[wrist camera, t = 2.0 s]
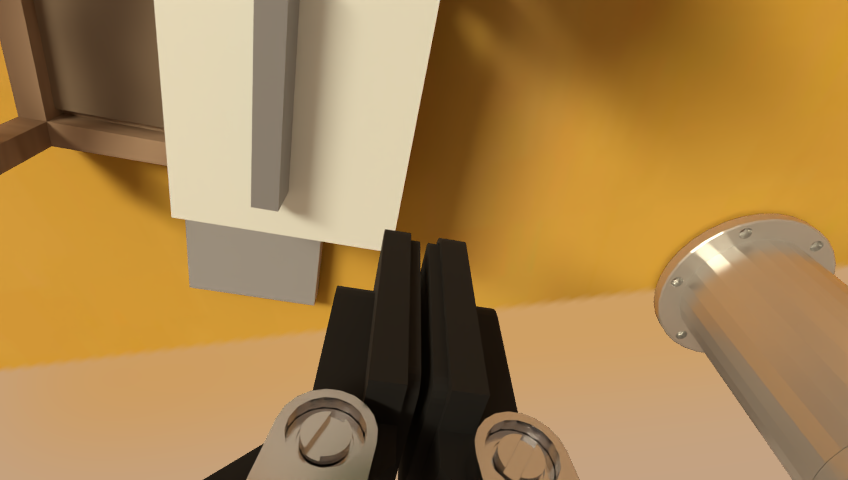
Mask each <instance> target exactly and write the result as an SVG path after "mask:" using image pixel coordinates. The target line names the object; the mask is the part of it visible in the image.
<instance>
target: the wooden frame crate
mask: <svg viewBox="0 0 848 480" xmlns="http://www.w3.org/2000/svg"><path fill="white" fill-rule="evenodd" d="M0 41H1V46H2V50H3V54H4V58H5V62H6V66H7V71H8V75H9V79H10V83H11V87H12V91H13V96H14V100H15V104H16V108H17V112H18V116H19V117H17V118H14V119H12V120H10V121H7V122H5V123H3V124H1V125H0V175H1V174H2V173H4V172H6V171H8V170H9V169H11V168H13V167H15V166H17V165H18V164H20V163H22V162H24V161H26V160H27V159H29V158H31V157H33V156H35V155H36V154H38V153H40V152H42V151H44V150H45V149H47V148H49V147H51V146H54V147H60V148H66V149H72V150H78V151H83V152H89V153H95V154H101V155H107V156H113V157H118V158H124V159H130V160H136V161H142V162H147V163H153V164H159V165H165V166H167V155H166V143H165V131H164V119H163V107H162V95H161V83H160V70H159V58H158V46H157V34H156V22H155V10H154V0H0Z"/></svg>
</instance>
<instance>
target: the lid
mask: <svg viewBox="0 0 848 480" xmlns="http://www.w3.org/2000/svg"><path fill="white" fill-rule="evenodd" d="M439 3H440V0H154V10H155V22H156V34H157V46H158V58H159V70H160V83H161V95H162V107H163V119H164V131H165V143H166V155H167V168H168V180H169V192H170V204H171V216H172V217H173V218H179V219H185V220H192V221H198V222H204V223H210V224H216V225H223V226H229V227H235V228H241V229H247V230H254V231H260V232H266V233H272V234H278V235H285V236H291V237H297V238H303V239H309V240H316V241H322V242H328V243H334V244H340V245H347V246H353V247H359V248H365V249H371V250H378V251H381V246H382V241H383V235H384V231H385V229H388V230H394V231H395V230H396V225H397V219H398V214H399V209H400V204H401V199H402V194H403V189H404V183H405V178H406V173H407V168H408V163H409V158H410V152H411V147H412V142H413V137H414V132H415V127H416V122H417V116H418V111H419V106H420V101H421V96H422V91H423V85H424V80H425V75H426V70H427V65H428V60H429V54H430V49H431V44H432V39H433V34H434V29H435V24H436V18H437V13H438V8H439Z"/></svg>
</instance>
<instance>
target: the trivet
mask: <svg viewBox="0 0 848 480" xmlns="http://www.w3.org/2000/svg"><path fill="white" fill-rule="evenodd" d="M185 222H186V237H187V252H188V267H189V283H190V287H192V288H198V289H205V290H212V291H219V292H226V293H233V294H239V295H246V296H253V297H260V298H267V299H273V300H280V301H287V302H294V303H301V304H307V305H314V304H315V301H316V297H317V294H318V286H319V276H320V267H321V257H322V248H323V242H322V241H316V240H309V239H303V238H297V237H291V236H285V235H278V234H272V233H266V232H260V231H254V230H247V229H241V228H235V227H229V226H223V225H216V224H210V223H204V222H198V221H192V220H185Z"/></svg>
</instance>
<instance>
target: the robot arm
mask: <svg viewBox="0 0 848 480" xmlns="http://www.w3.org/2000/svg"><path fill="white" fill-rule="evenodd" d="M835 266H836V262H835V255H834V251H833V249H832V247H831V245H830V243H829V241H828V240H827V239H826V238H825V237H824V235H823V234H822V233H821V232H820V231H818V230H817V229H815V228H814V227H812V226H811V225H810V224H808V223H807V222H805V221H802V220H800V219H798V218H795V217H792V216H787V215H782V214H756V215H750V216H743V217H740V218H737V219H733V220H730V221H727V222H724V223H722V224H720V225H718V226H715V227H713V228H711V229H709V230H707V231H706V232H704V233H702V234H701V235H699V236H698V237H696V238H695V239H693V240H692V241H690V242H689V243H688V244H687V245H686V246H685V247H683V248H682V249H681V250H680V251H679V252H678V253H677V254H676V255H675V256H674V257H673V259H672V260H671V261H670V262H669V263H668V265H667V266H666V268H665V270H664V271H663V273H662V274H661V276H660V278H659V281H658V284H657V286H656V289H655V296H654V308H655V314H656V316H657V318H658V321H659V323H660V324H661V326H662V327H663V329H664V330H665V332H666V334H667V335H668V336H669V337H670V338H671V339H672V340H673V341H675V342H676V343H678V344H680V345H681V346H683V347H685V348H688V349H691V350H694V351H698V352H704V353H705V354H706V355H707V357H708V358H709V360H710V361H711V362H712V364H713V365H714V367H715V368H716V370H717V371H718V373H719V374H720V376H721V377H722V378H723V380H724V381H725V383H726V384H727V386H728V387H729V389H730V390H731V391H732V393H733V394H734V396H735V397H736V399H737V400H738V401H739V403H740V404H741V406H742V407H743V409H744V410H745V412H746V413H747V415H748V416H749V418H750V419H751V420H752V422H753V423H754V425H755V426H756V428H757V429H758V430H759V432H760V433H761V435H762V436H763V438H764V439H765V441H766V442H767V444H768V445H769V446H770V448H771V449H772V451H773V452H774V454H775V455H776V456H777V458H778V459H779V461H780V462H781V464H782V465H783V467H784V468H785V470H786V471H787V472H788V474H789V475H790V477H791V478H792V480H848V286H847V285H846V284H844V283H843V282H842V281H841V280H840V279H838V278H837V277H836V276H835V275H834V273H835ZM397 471H398V480H580V479H579V477H578V475H577V473H576V470H575V468H574V466H573V464H572V461H571V459H570V457H569V455H568V452H567V450H566V449H565V447H564V445H563V444H562V442H561V440H560V439H559V438H558V437H557V436H556V435H555V434H554V433H553V432H552V430H550V428H549V427H547V426H546V425H544V424H543V423H541V422H540V421H538V420H537V419H535V418H533V417H530V416H527V415H525V414H522V413H518V411H517V407H516V402H515V397H514V393H513V388H512V383H511V378H510V374H509V369H508V364H507V359H506V355H505V350H504V346H503V341H502V336H501V331H500V326H499V321H498V317H497V314H496V311H495V310H494V309H491V308H484V307H477V306H476V304H475V297H474V291H473V285H472V279H471V272H470V266H469V260H468V253H467V247H466V243H465V242H461V241H455V240H449V239H443V238H439V239H438V241H437V244H430V243H428V244H427V247H426V251H425V255H424V259H423V264H422V268H421V272H420V242H418V241H412V240H411V233H406V232H400V231H394V230H388V229H385V231H384V235H383V241H382V246H381V252H380V257H379V263H378V269H377V274H376V280H375V285H374V291H370V290H363V289H356V288H350V287H343V286H337V289H336V293H335V297H334V301H333V306H332V310H331V314H330V318H329V323H328V327H327V331H326V336H325V340H324V344H323V349H322V353H321V358H320V362H319V366H318V370H317V375H316V379H315V383H314V387H313V391H309V392H307V393H304V394H302V395H299V396H297V397H296V398H294V399H293V400H292V401H291V402H289V403H288V404H286V405H285V406H284V408H283V409H282V411H281V412H280V413H279V415H278V416H277V418H276V420H275V422H274V424H273V426H272V428H271V430H270V432H269V435H268V436H267V438H266V440H265V442H264V444H262V445H261V446H259V447H257V448H256V449H254V450H252V451H251V452H249V453H247V454H245V455H244V456H242V457H240V458H239V459H237V460H235V461H234V462H232V463H230V464H229V465H227V466H226V467H224V468H222V469H220V470H219V471H217V472H215V473H214V474H212V475H210V476H209V477H207V478H205V479H204V480H395V478H396V474H397Z"/></svg>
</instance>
